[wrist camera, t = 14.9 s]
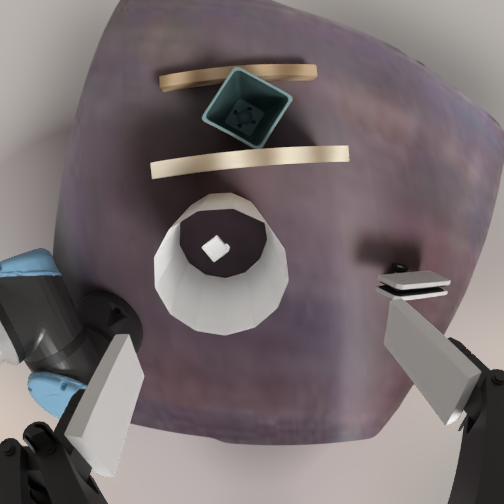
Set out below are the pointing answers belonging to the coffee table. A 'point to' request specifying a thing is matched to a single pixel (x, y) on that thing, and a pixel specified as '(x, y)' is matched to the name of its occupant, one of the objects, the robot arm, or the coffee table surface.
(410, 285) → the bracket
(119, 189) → the coffee table surface
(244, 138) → the flower pot
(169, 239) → the container
